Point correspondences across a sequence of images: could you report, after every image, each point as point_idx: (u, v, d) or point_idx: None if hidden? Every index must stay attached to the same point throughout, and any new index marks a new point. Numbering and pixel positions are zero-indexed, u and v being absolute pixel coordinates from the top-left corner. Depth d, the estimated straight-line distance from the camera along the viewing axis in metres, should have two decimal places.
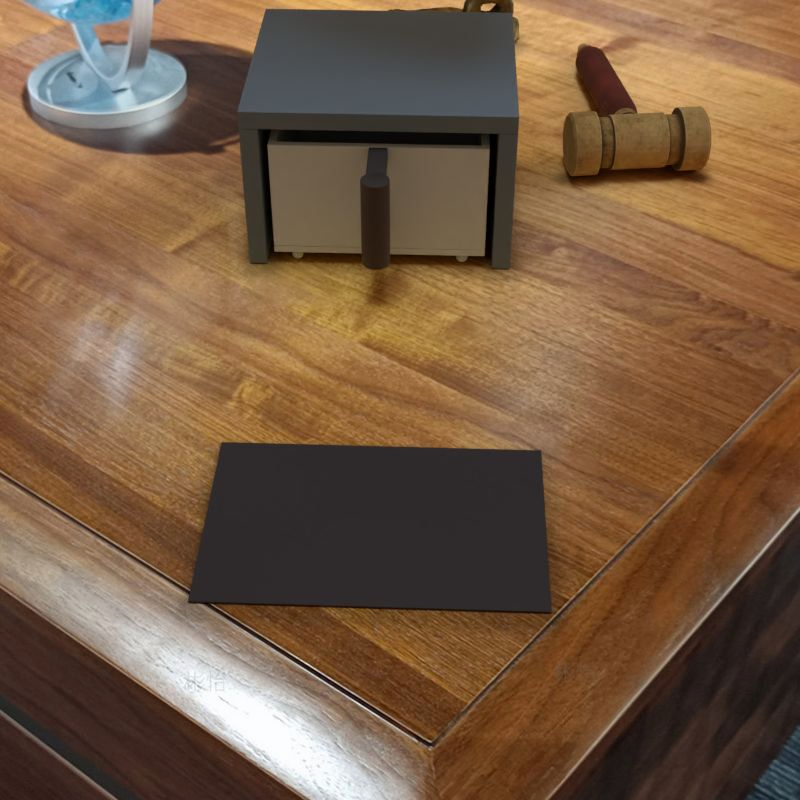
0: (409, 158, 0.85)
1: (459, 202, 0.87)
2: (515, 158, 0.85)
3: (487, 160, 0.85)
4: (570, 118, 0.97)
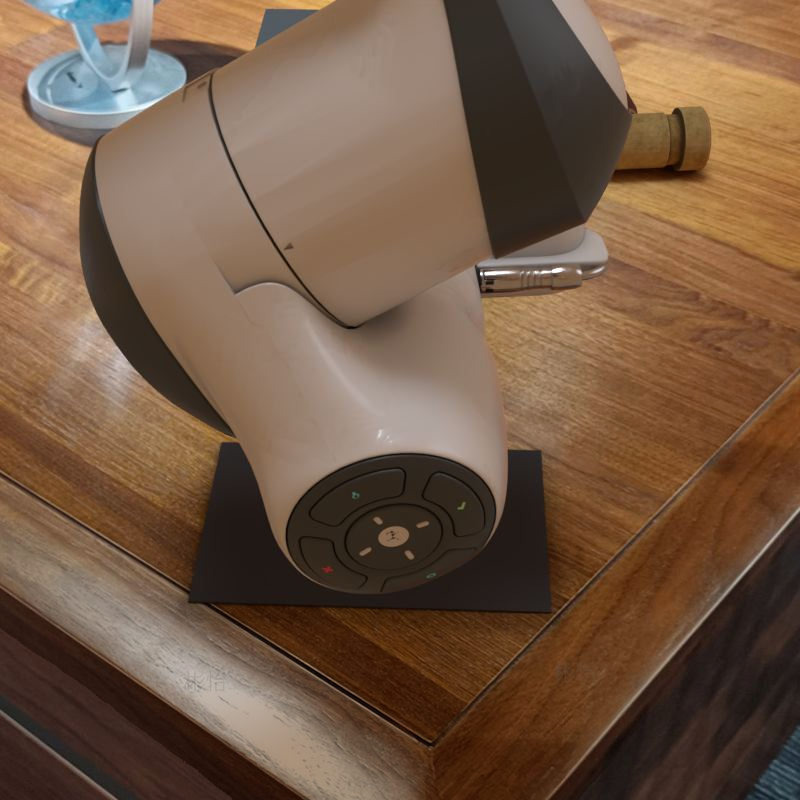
0: None
1: None
2: None
3: None
4: None
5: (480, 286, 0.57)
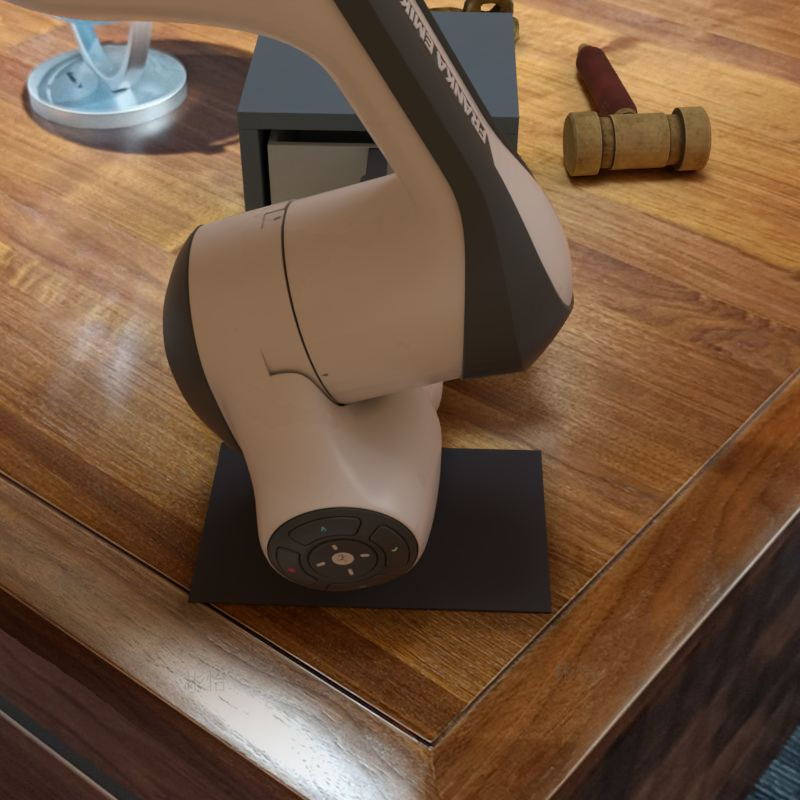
0: None
1: None
2: None
3: None
4: (570, 118, 0.97)
5: None
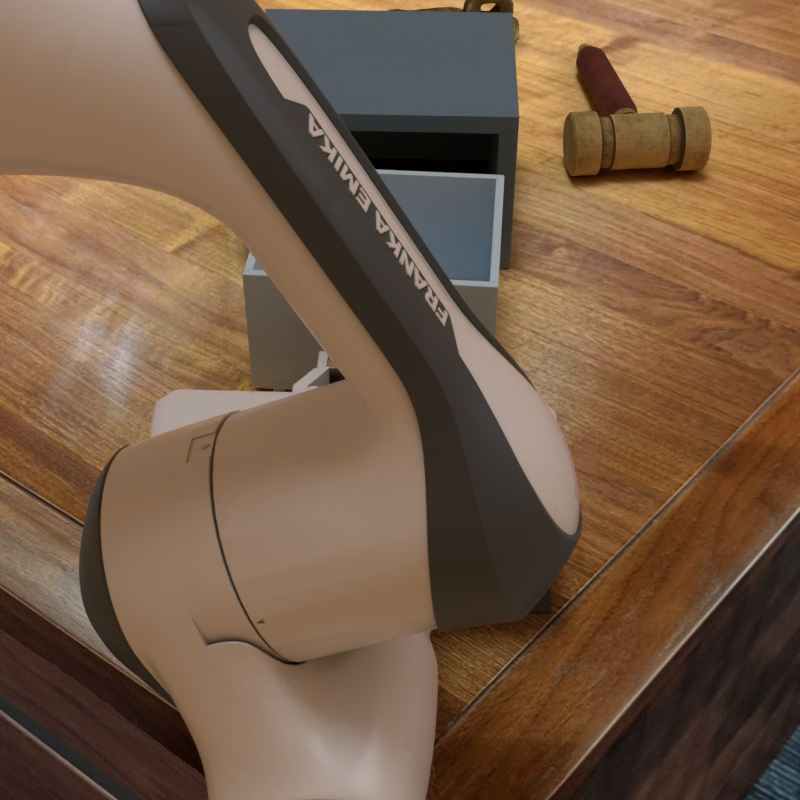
0: None
1: None
2: (515, 158, 0.85)
3: (495, 298, 0.74)
4: (570, 118, 0.97)
5: None
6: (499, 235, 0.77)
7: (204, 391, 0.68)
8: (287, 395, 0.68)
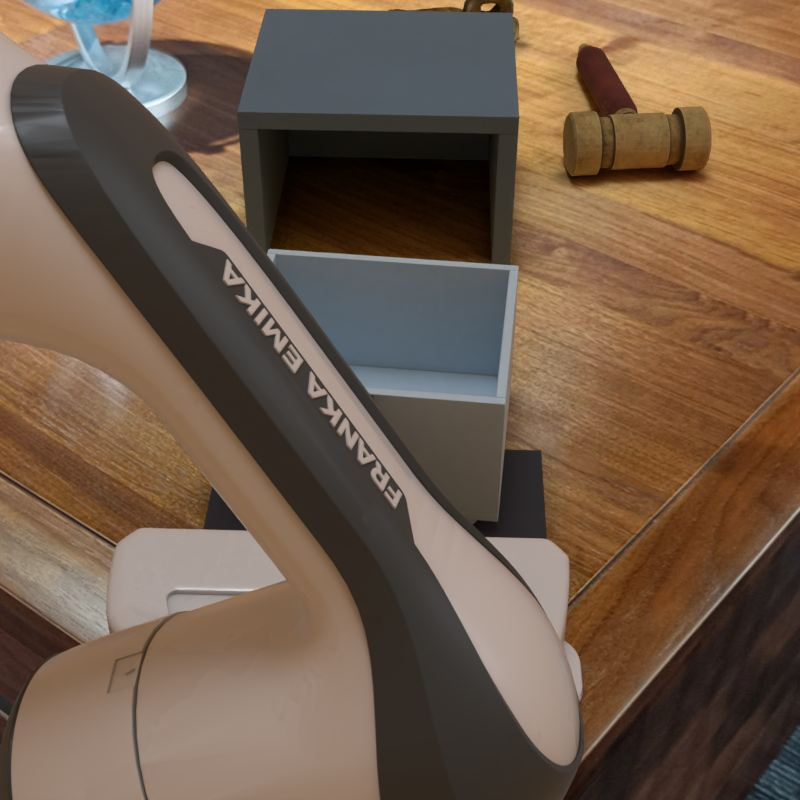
0: (401, 407, 0.66)
1: (465, 461, 0.68)
2: (515, 158, 0.85)
3: (502, 416, 0.66)
4: (570, 118, 0.97)
5: None
6: (509, 340, 0.69)
7: (171, 531, 0.60)
8: None
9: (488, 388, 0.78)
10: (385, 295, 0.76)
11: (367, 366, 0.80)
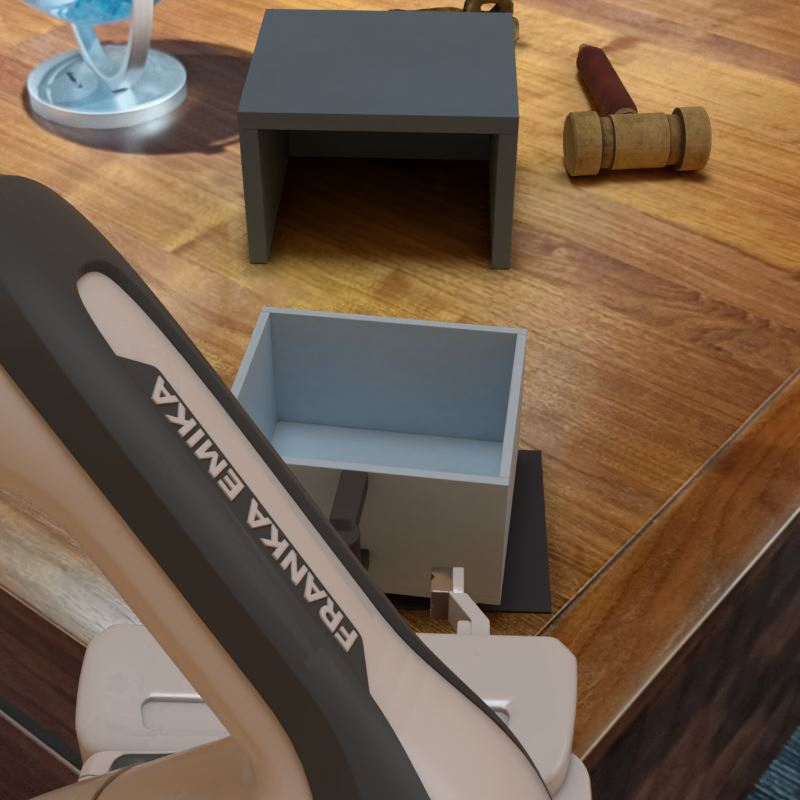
0: (397, 486, 0.62)
1: (466, 542, 0.63)
2: (515, 158, 0.85)
3: (505, 497, 0.61)
4: (570, 118, 0.97)
5: None
6: (515, 413, 0.65)
7: None
8: None
9: (494, 455, 0.74)
10: (385, 357, 0.72)
11: (366, 429, 0.75)
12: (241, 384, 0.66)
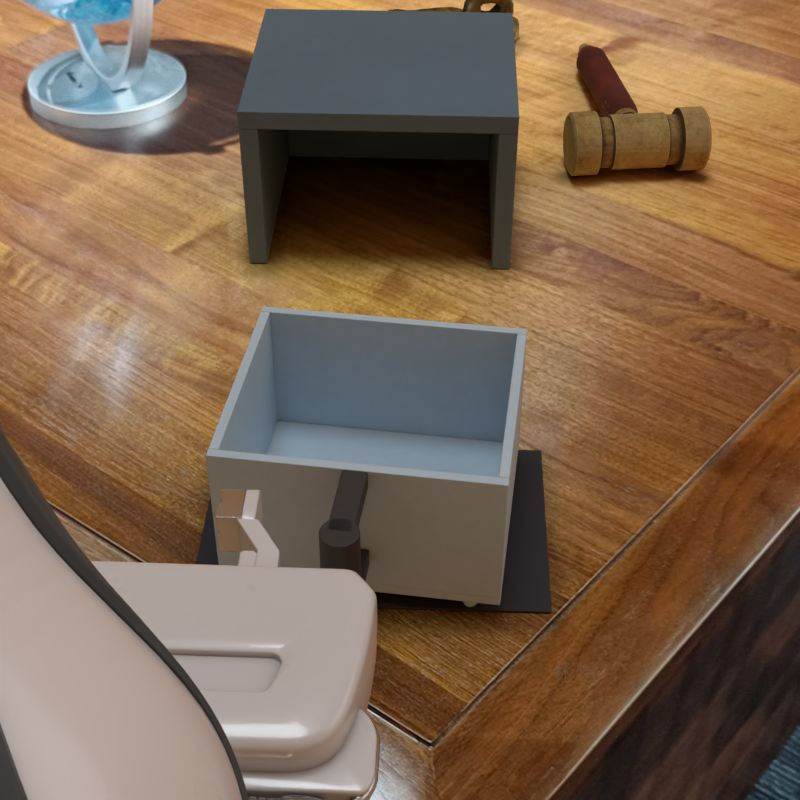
0: (397, 486, 0.62)
1: (466, 542, 0.63)
2: (515, 158, 0.85)
3: (505, 497, 0.61)
4: (570, 118, 0.97)
5: None
6: (515, 413, 0.65)
7: None
8: None
9: (494, 455, 0.74)
10: (385, 357, 0.72)
11: (366, 429, 0.75)
12: (241, 384, 0.66)
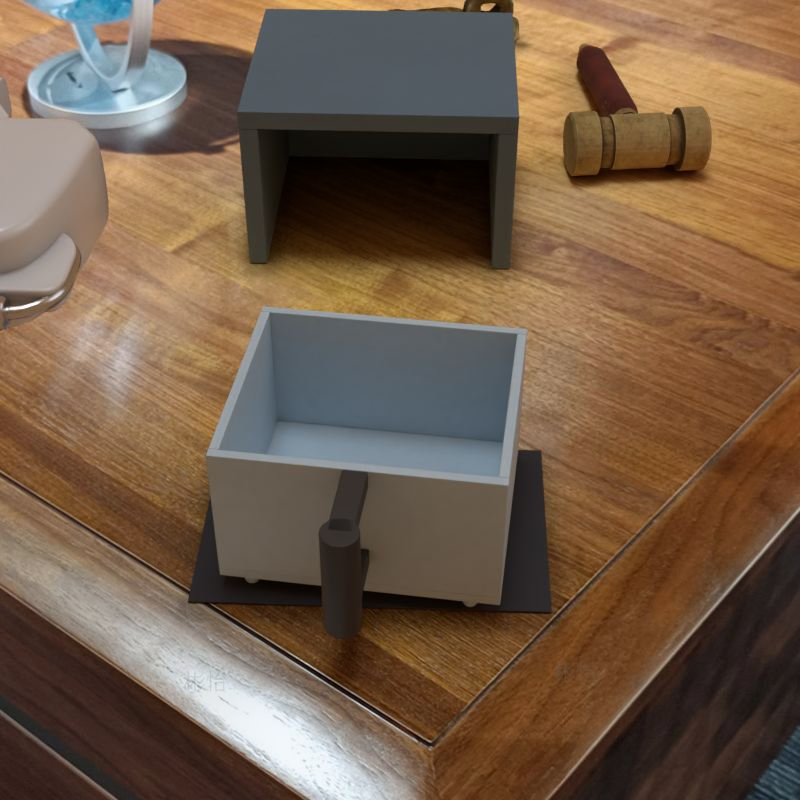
0: (397, 486, 0.62)
1: (466, 542, 0.63)
2: (515, 158, 0.85)
3: (505, 497, 0.61)
4: (570, 118, 0.97)
5: None
6: (515, 413, 0.65)
7: None
8: None
9: (494, 455, 0.74)
10: (385, 357, 0.72)
11: (366, 429, 0.75)
12: (241, 384, 0.66)
